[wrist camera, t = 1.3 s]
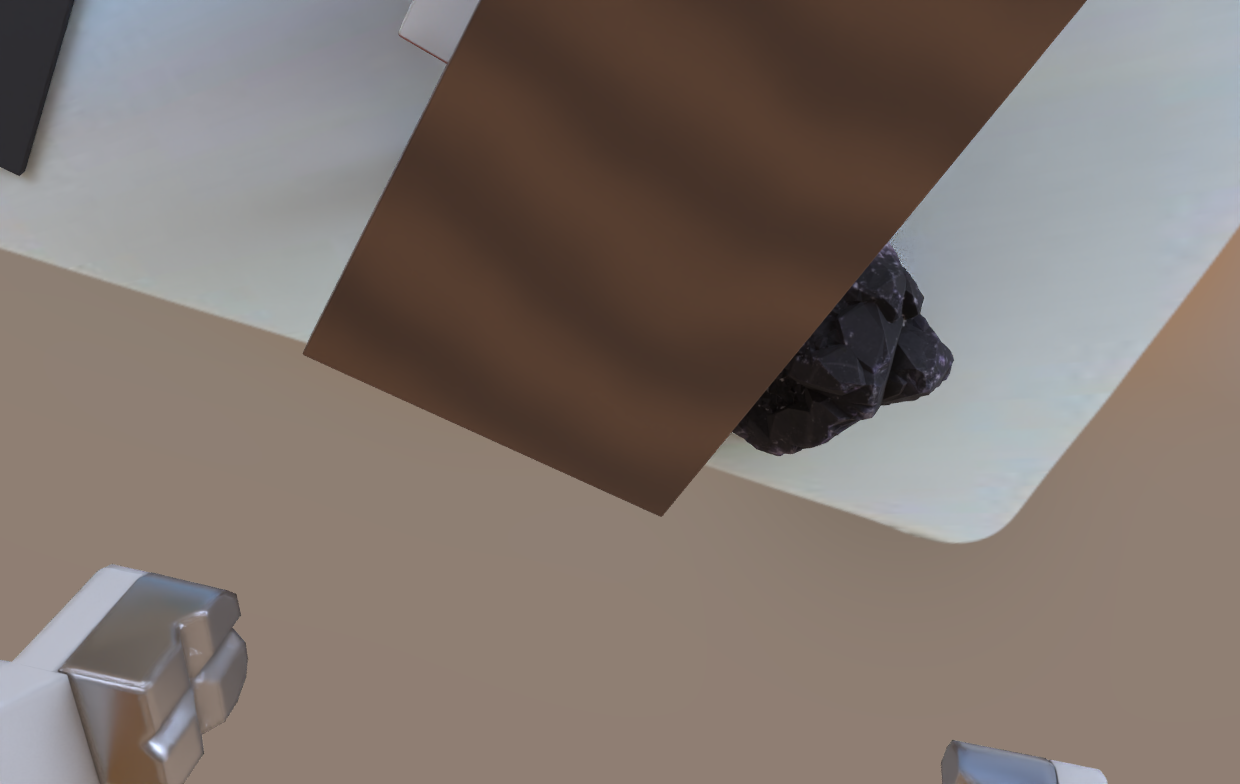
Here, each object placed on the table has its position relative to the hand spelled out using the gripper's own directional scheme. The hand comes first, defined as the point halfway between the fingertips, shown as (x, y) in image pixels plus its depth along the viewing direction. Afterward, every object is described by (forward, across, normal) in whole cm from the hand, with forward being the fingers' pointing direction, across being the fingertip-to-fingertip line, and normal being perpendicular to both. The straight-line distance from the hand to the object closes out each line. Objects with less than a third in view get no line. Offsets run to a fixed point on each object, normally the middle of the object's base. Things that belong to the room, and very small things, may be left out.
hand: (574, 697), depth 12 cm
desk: (+44, +6, +2) cm, 44 cm away
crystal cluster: (+46, -3, +18) cm, 50 cm away
